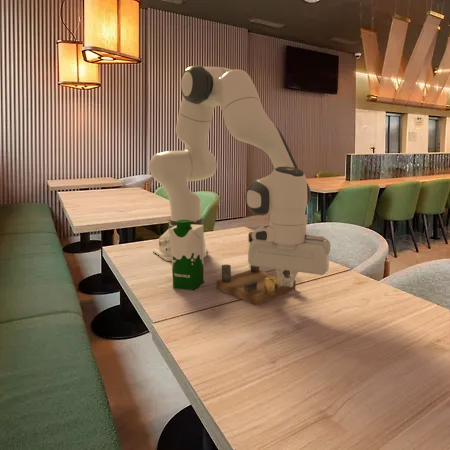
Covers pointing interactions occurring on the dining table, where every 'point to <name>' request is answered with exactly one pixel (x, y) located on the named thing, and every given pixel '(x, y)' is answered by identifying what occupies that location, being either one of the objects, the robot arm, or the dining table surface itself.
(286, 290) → the stool seat
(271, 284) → the gold bone
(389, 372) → the dining table surface
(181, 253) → the milk carton
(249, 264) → the jar
